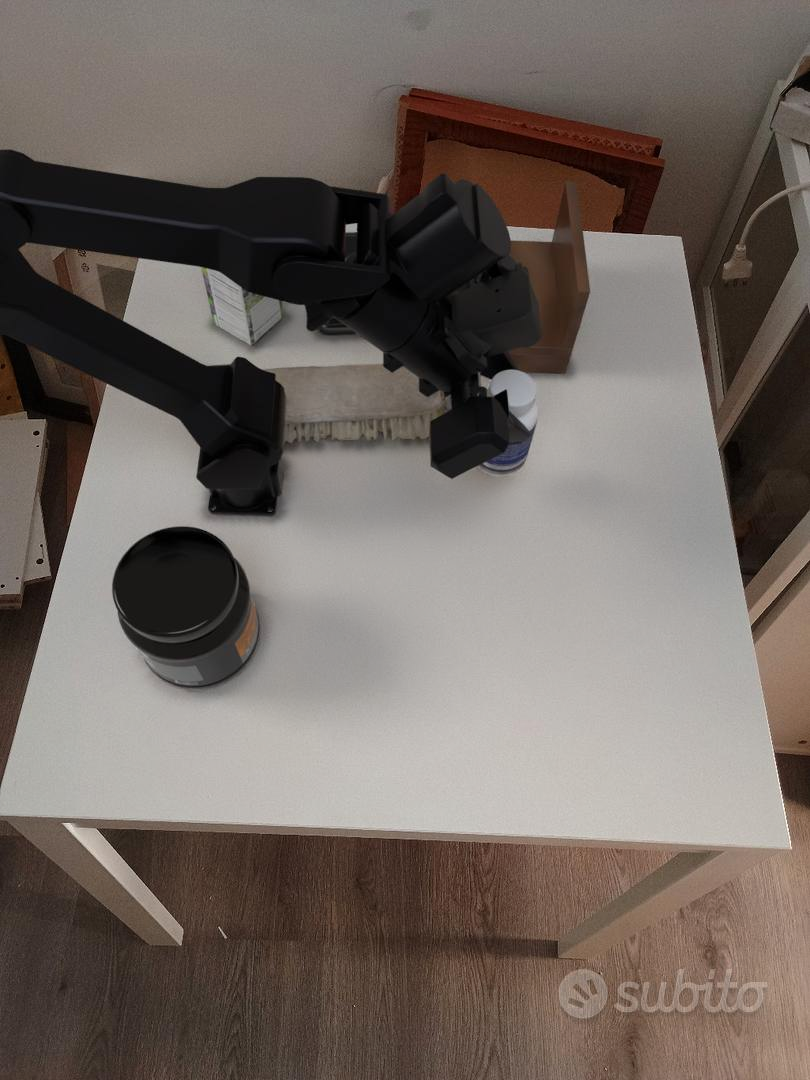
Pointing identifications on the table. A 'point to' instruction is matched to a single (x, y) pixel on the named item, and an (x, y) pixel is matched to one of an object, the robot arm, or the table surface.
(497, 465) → the pill bottle
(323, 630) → the table surface
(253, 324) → the syrup box
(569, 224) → the wooden corner stand
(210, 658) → the supplement container
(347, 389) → the shoe brush
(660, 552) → the table surface
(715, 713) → the table surface
